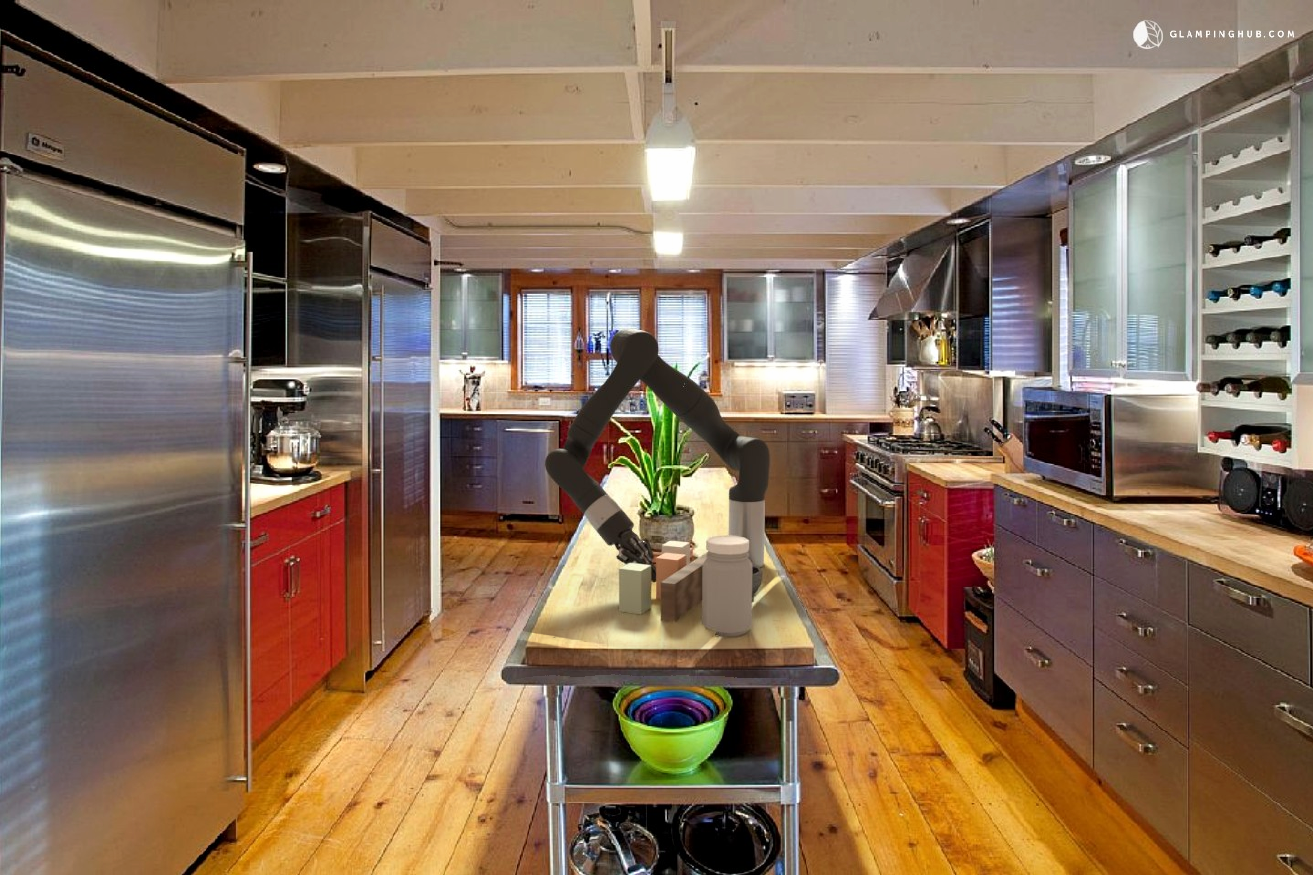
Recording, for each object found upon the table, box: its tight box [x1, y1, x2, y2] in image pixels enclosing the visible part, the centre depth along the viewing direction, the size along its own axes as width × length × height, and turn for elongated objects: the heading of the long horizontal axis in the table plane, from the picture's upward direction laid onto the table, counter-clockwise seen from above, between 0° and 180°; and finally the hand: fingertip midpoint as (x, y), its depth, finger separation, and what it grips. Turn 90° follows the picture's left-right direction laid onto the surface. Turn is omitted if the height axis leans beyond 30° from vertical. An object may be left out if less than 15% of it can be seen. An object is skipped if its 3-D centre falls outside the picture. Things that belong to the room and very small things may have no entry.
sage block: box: [618, 563, 652, 615], centre depth 159 cm, size 5×5×9 cm
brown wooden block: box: [660, 551, 708, 623], centre depth 169 cm, size 30×18×9 cm, turn 156°
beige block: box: [661, 540, 691, 566], centre depth 179 cm, size 5×5×9 cm
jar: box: [701, 534, 753, 638], centre depth 151 cm, size 10×10×18 cm
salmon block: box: [655, 553, 686, 600], centre depth 168 cm, size 5×5×9 cm
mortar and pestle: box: [748, 556, 763, 603], centre depth 169 cm, size 11×9×12 cm
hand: (658, 579), depth 169 cm, fingers closed
